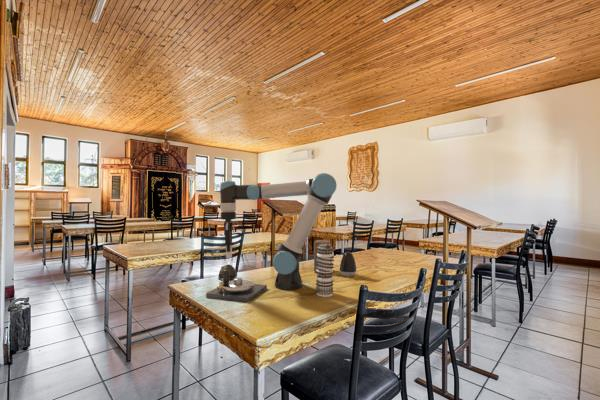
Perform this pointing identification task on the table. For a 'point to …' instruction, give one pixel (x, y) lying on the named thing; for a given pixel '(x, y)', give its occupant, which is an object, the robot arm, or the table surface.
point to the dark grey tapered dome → (348, 264)
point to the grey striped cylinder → (317, 249)
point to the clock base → (236, 293)
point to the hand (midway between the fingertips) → (229, 257)
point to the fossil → (232, 272)
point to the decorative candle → (324, 270)
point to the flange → (235, 283)
